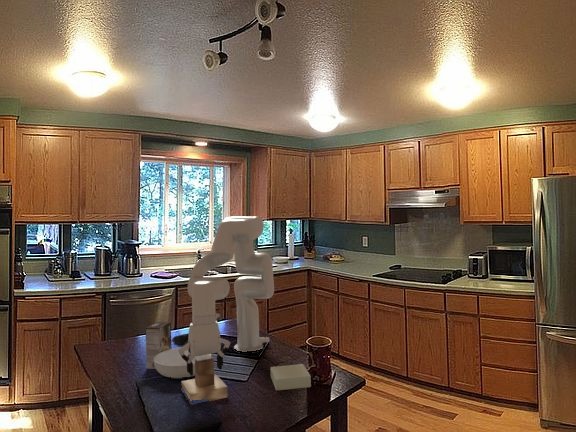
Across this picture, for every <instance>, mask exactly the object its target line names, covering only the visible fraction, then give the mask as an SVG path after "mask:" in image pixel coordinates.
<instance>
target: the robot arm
mask: <svg viewBox="0 0 576 432" xmlns="http://www.w3.org/2000/svg"><path fill="white" fill-rule="evenodd" d="M263 232H264V221H263V219H262V218H261V217H260V216H258V215H257V216H256V215H254V216H253V215H251V216H243V215H241V216H239V215H238V216H228V217H225V218H223V219H222V220H221V222H219V223H218V226H217V229H216V232H215V235H214V239H213V243H212V245H211V248H210V251H209V252H207V253H206V254H205V255H204V256H202V257H201V258H200V259H199V260H198V261H197V262H196V263H195V265H194V266H193V268H192V271H191V272H190V276H189V279H188V282H187V294H188V295H189V298H190V297H191V312H192V313H191V314H192V317H191V318H192V319H191V320H192V321H191V323H190V324H189V327H188V333H189V334H188V333H187V334H188V343H187V344H186V345H184V346H182V347H179V348H180V349H179V350H178V352H179V354H180V356H181V357H182V359H184V360H185V361H186V362H187V372H189V374H190V375H193V363H192V360H193V359H194V357H195V356H201V355H207V354H211V355H212V354H217V355H216V368H217V369H219V370H222V368H223V367H224V356H225V354H226V353H227V352H228V350H229V348H230V345H231V341H229V340H227V339H225V338H222V337H221V332H220V328H219V327H220V325H219V323H218V321H217V319H218V318H221V315H220V313H217V312H216V301H218V300H219V301H220V300H222V299H225V298H226V297H227V296H228V295H229V293H230V291H231V290H230V289H231V286H230V283H229V281H228V279H226V278H224V277H217V276H216V277H213V276H205V275H206V274H207V273H209V271H211V270H213V269H214V268H218V267H220V266H223V265H224V264H227V263H229V262H231V261H232V259H233V258H234V264H235V270H236V273H238V274H240V275H244V276H240V277H237V278H236V280H235V281H234V283H233V291H234V295H235V302H236V329H237V330H236V333H237V340H236V341H237V343H236V344H235V345H234V346H233V350H234V349H236V350H237V351H242V352H247V351H256V350H260V349H262V350H263V349H264V345H263V344H264V343H269V342H270V337H267V336H266V337H264V336H262V337H260V322H259V321H260V319H259V318H260V317H259V315H260V314H259V312H260V311H259V305H258V303H257V302H256V301H255V300H254V299H256V300H257V299H258V300H261V299H262V300H263V299H264V300H266V299H270V298H272V297H273V295H274V294H275V281H274V268H273V266H274V265H273V260H272V257H271V255H270V254H269V253H267V252H255V249H254V240H256V239H258V238H260V236H262V234H263ZM246 275H247V276H246ZM250 275H253V276H250ZM255 275H256V276H255ZM258 275H259V276H258ZM222 344H224V346H223V347H222ZM187 349H188V352H189V354H188V356H186V355H185V354H184V351H186V350H187ZM237 351H236V352H237ZM260 351H261V350H260Z"/></svg>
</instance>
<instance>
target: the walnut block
mask: <svg viewBox="0 0 576 432" xmlns="http://www.w3.org/2000/svg"><path fill="white" fill-rule="evenodd" d="M214 375H215V359H214V358H213V357H212V356H211V357H210V356H204V357H199V358H195V375H194V379H195V383H196V384H197V385H198V386H199V388H200V387H205V386H209V385H214Z"/></svg>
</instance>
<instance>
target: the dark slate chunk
mask: <svg viewBox="0 0 576 432" xmlns="http://www.w3.org/2000/svg"><path fill="white" fill-rule="evenodd" d="M188 334H189V332H188V333H183V334H179V335H175V336H173V338H171V342H172V343H174V344H176V345H178V346H182V347H183V346H184V345H186V344H187V343H188Z"/></svg>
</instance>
